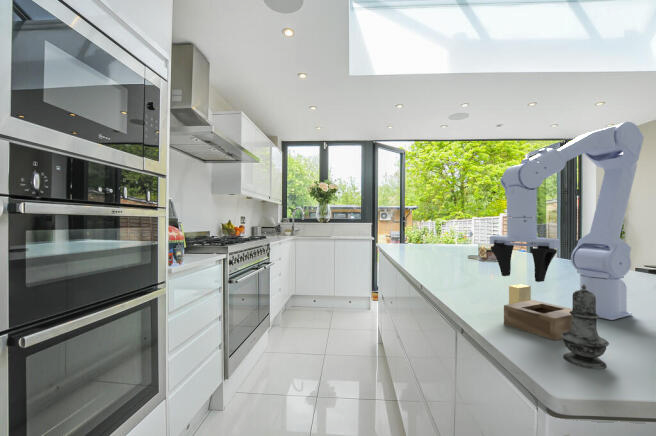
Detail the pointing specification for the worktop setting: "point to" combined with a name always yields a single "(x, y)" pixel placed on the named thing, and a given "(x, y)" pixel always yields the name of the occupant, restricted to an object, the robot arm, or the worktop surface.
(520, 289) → the block
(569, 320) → the walnut box
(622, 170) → the robot arm
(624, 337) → the worktop surface
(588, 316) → the salt shaker
